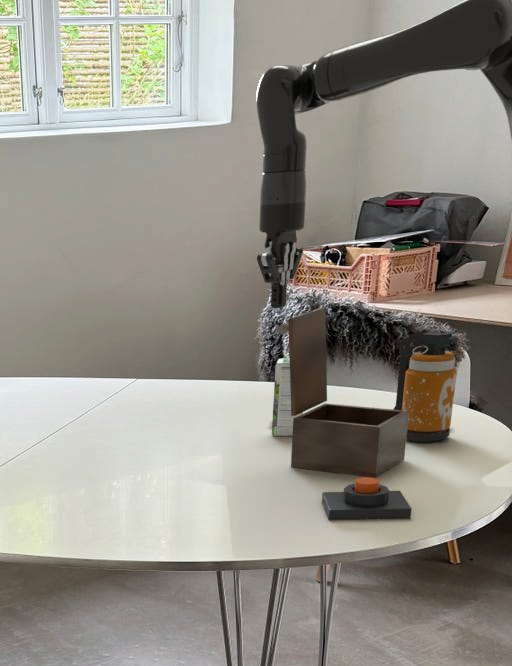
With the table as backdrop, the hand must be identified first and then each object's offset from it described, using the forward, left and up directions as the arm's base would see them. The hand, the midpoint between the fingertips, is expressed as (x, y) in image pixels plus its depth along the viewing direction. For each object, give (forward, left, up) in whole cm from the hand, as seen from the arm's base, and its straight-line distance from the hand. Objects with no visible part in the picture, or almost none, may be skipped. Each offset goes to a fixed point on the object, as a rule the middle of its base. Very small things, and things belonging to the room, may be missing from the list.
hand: (278, 307), depth 170 cm
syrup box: (+1, -16, -27) cm, 31 cm away
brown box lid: (-7, +1, -9) cm, 11 cm away
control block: (-23, +28, -27) cm, 45 cm away
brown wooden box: (-15, +3, -27) cm, 31 cm away
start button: (-23, +28, -24) cm, 43 cm away
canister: (-24, -18, -27) cm, 40 cm away
